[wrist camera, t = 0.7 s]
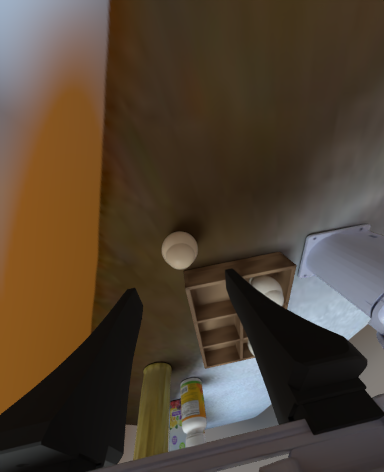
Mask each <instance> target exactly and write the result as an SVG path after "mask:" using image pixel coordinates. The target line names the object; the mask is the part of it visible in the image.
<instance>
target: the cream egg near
mask: <svg viewBox="0 0 384 472" xmlns="http://www.w3.org/2000/svg"><path fill="white" fill-rule="evenodd" d="M249 283H250V284H251V285H252V286H253V287H255V288H256V289H257V290H258V291H260V292H261V293H262V294H264V295H265V296H267V297H268V298H269V299H271V300H272V301H274V302H276V303H277V304H279V305H280V306H282V305H283V303H284V297H283V291H282V288H281V286H280V284H279V283H278V282H277V281H276V280H275V279H274V278H272V277H269V276H265V275H260V276H256V277H251V278H250V279H249Z"/></svg>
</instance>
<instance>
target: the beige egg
mask: <svg viewBox="0 0 384 472" xmlns="http://www.w3.org/2000/svg"><path fill="white" fill-rule="evenodd" d="M197 253H198V246H197V242H196V240H195V239H194V238H193V237H192V236H191V235H190V234H188V233H186V232H182V231H177V232H174V233H172V234H170V235H169V236H167V237H166V239H165V240H164V242H163V245H162V255H163V257H164V259H165V261H166V262H167V263H168V264H169V265H170V266H172V267H173V268H175V269H185V268H187V267H189V266H190V265H191V264H192V263H193V261H194V260H195V258H196V256H197Z"/></svg>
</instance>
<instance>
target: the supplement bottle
mask: <svg viewBox="0 0 384 472" xmlns="http://www.w3.org/2000/svg"><path fill="white" fill-rule="evenodd" d="M181 414H182V429H183V431H184V432H185V433H186V434H187V437H186V447H191V446H195V445H199V444H203V443H206V441H205V434H204V433H203V430H204V429H205V428H206V424H207V422H206V413H205V405H204V397H203V390H202V382H201V380H200V379H198V378H189V379H186V380H184V381H183V382H182V383H181Z"/></svg>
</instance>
